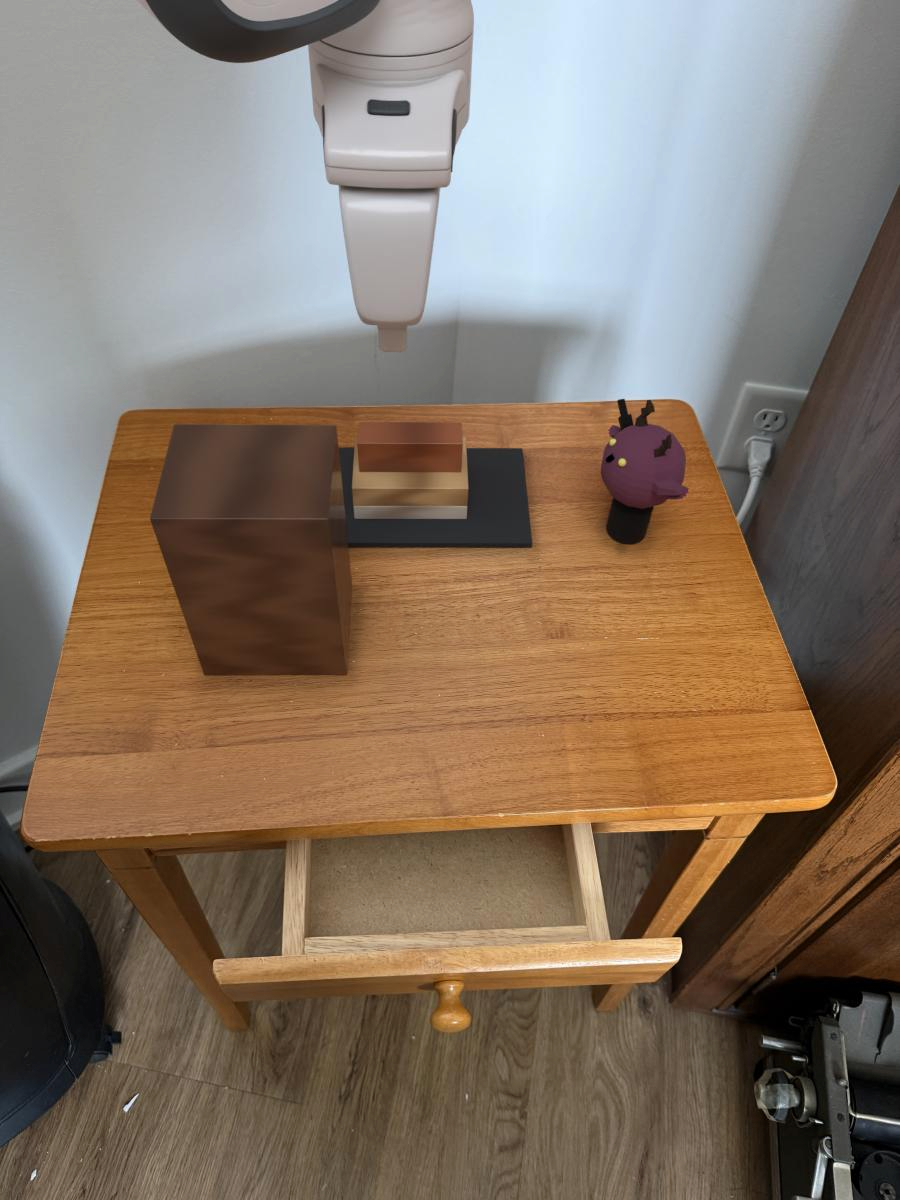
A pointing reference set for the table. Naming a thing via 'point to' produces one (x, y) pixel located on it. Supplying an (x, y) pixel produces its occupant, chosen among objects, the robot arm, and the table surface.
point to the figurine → (640, 473)
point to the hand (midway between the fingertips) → (394, 303)
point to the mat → (489, 521)
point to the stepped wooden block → (410, 471)
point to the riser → (258, 546)
